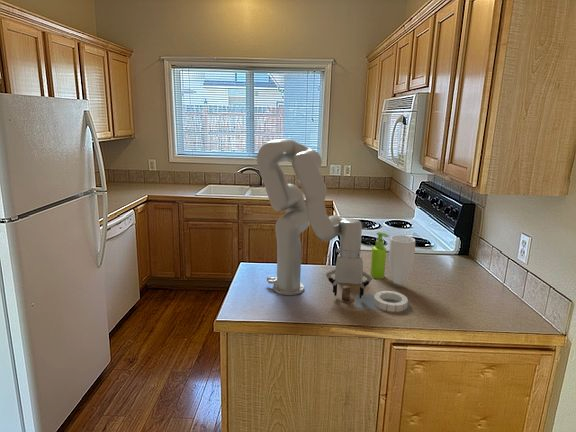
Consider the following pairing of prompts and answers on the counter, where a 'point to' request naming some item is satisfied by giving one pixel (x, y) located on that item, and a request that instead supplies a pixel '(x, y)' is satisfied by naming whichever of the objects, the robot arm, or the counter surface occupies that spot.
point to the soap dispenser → (378, 257)
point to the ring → (388, 306)
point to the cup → (401, 257)
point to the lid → (345, 295)
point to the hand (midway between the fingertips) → (348, 295)
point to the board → (368, 303)
